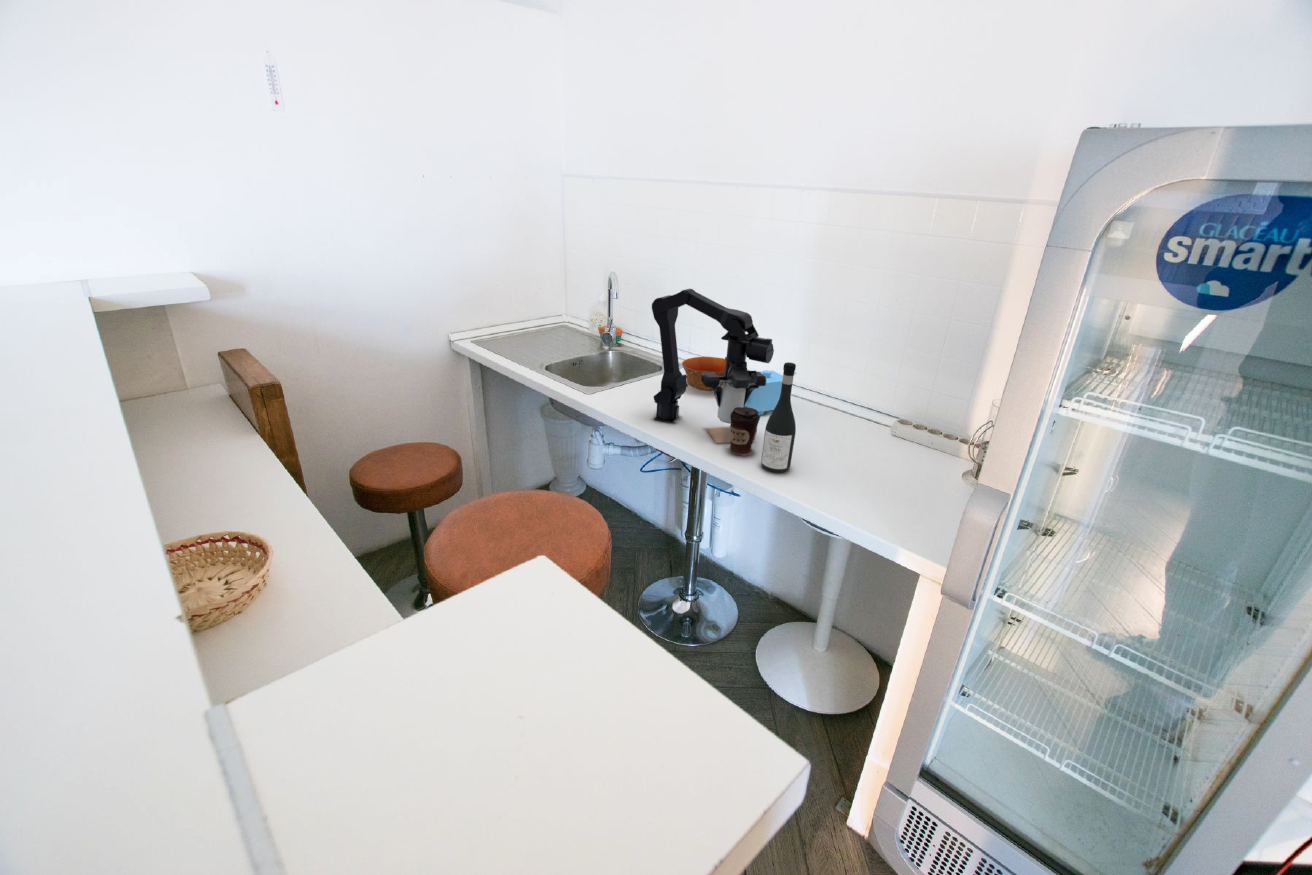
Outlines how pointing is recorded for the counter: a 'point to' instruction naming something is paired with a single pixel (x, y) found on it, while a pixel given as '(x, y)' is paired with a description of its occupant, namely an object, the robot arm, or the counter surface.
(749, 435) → the coffee cup
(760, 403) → the teapot
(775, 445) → the wine bottle
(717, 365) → the bowl
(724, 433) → the coaster
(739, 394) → the can
